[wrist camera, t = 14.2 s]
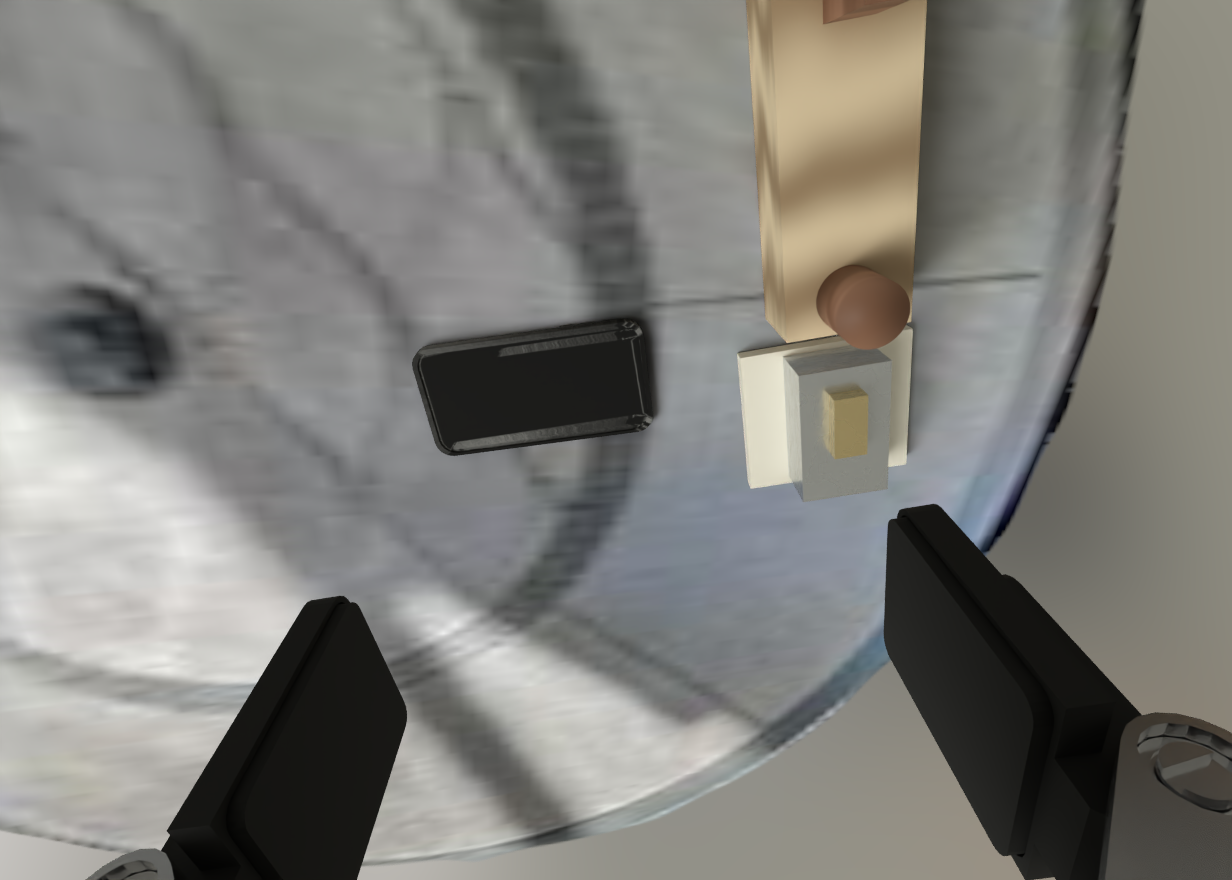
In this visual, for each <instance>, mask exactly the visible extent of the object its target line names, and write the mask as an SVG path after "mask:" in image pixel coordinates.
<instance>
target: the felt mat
mask: <svg viewBox="0 0 1232 880" xmlns="http://www.w3.org/2000/svg"><path fill="white" fill-rule="evenodd" d="M912 337H913V329H912V328H911V327H909V326H908V325H906V326H905V328H904V329H903V330H902V332H901V333H900V334H899V335H898V336H897V337H896V338H895V339H894V340H893V341H891V342H890V343H888V344H887V345H885V346H882V347H880V348H877V349H878V350H879V351H881V352H882V353H883V354H884V355H886V356H887V357H888V358H889V359H891V360H892V376H891V404H890V432H889V460H888V467H892V466H898V465H905V464H906V455H907V435H908V416H909V396H910V377H911V357H912ZM848 345H850V344H848V343H847V342H846V341H845V340H844V339H843V338H841V337H840V336H835V337H829V338H823V339H818V340H812V341H806V342H800V343H794V344H788V345H782V346H776V347H771V348H765V349H759V350H753V351H747V352H741V353H737V358H738V369H739V381H740V393H741V405H742V416H743V428H744V440H745V452H746V463H747V475H748V483H749V485H750V487H751V489H753V488H759V487H766V486H772V485H778V484H785V483H791V482H792V480H791V479H790V477H789V471H788V451H787V431H786V410H785V390H784V370H783V356H789V355H795V354H801V353H807V352H813V351H819V350H825V349H831V348H837V347H842V346H848Z"/></svg>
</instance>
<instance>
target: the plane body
mask: <svg viewBox="0 0 1232 880" xmlns="http://www.w3.org/2000/svg"><path fill="white" fill-rule="evenodd" d="M746 5H747V22H748V38H749V54H750V71H751V87H752V103H753V120H754V136H755V152H756V169H757V185H758V201H759V218H760V234H761V251H762V267H763V283H764V300H765V316H766V320H767V321H768V322H769V323H770V324H771V325H772V326H773V328H774V329H775V330H776V331H777V332H778V333H779V335H780V336H781V337H782V338H783V339H784V340H785V341H786V343H790V342H796V341H802V340H808V339H814V338H820V337H826V336H831V335H837V334H838V335H839V336H840V337H841V338H843V339H844V340H845V341H846V342H847V343H848V344H850V345H851V346H853V347H855V348H859V349H864V350H870V349H876V348H880V347H882V346H885V345H887V344H888V343H890V342H891V341H893V340H894V339H895V338H896V337H897V336H898V335H899V334H900V333H901V332H902V330H903V329H904V328H905V326H906V324H907V323H908V322H911V314H912V294H913V273H914V253H915V233H916V213H917V192H918V172H919V152H920V131H921V111H922V91H923V70H924V50H925V30H926V10H927V0H746Z"/></svg>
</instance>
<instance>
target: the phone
mask: <svg viewBox="0 0 1232 880" xmlns="http://www.w3.org/2000/svg"><path fill="white" fill-rule="evenodd" d="M412 366H413V371H414V374H415V378H416V381H417V384H418V388H419V391H420V394H421V398H422V401H423V404H424V408H425V411H426V414H427V418H428V421H429V424H430V427H431V431H432V434H433V437H434V441H435V444H436V446H437V448H438V449H439V450H440V451H441V452H443V453H445V454H447V455H451V456H457V455H465V454H472V453H480V452H488V451H495V450H503V449H510V448H518V447H526V446H533V445H541V444H548V443H556V442H564V441H571V440H579V439H587V438H594V437H602V436H609V435H617V434H625V433H632V432H639V431H642V430H644V429H646V428H647V427H648V426H649V425H650V424H651V421H652V419H653V412H652V403H651V395H650V386H649V377H648V369H647V360H646V351H645V343H644V336H643V332H642V329H641V327H640V326H639V324H638V323H636V322H635V321H633V320H630V319H618V320H611V321H610V320H607V321H601V322H597V323H592V322H591V323H583V324H577V325H575V326H573V325H567V326H560V328H553V329H545V330H538V331H531V332H524V333H516V334H509V335H502V336H494V337H487V338H480V339H472V340H465V341H458V342H451V343H443V344H436V345H429V346H425V347H423V348H421V349H420V350H419V351H418V352H417V354H416V355H415V357H414V358H413V362H412Z"/></svg>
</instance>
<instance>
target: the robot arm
mask: <svg viewBox="0 0 1232 880" xmlns="http://www.w3.org/2000/svg"><path fill="white" fill-rule="evenodd" d="M884 641H885V646H886V649H887V652H888V655H889V657H890V659H891V661H892V662H893V664H894V666H895V668H896V669H897V671H898V673H899V675H900V677H901V679H902V680H903V682H904V684H905V686H906V688H907V690H908V691H909V693H910V695H911V697H912V699H913V701H914V702H915V704H916V706H917V708H918V710H919V711H920V713H921V715H922V717H923V719H924V720H925V722H926V724H927V726H928V728H929V729H930V731H931V733H932V735H933V737H934V739H935V741H936V742H937V744H938V746H939V748H940V750H941V751H942V753H943V755H944V757H945V759H946V761H947V762H948V764H949V766H950V768H951V770H952V771H953V773H954V775H955V777H956V779H957V781H958V782H959V784H960V786H961V788H962V789H963V791H964V793H965V795H966V797H967V799H968V800H969V802H970V804H971V806H972V808H973V809H974V811H975V813H976V815H977V817H978V818H979V820H980V822H981V824H982V826H983V828H984V829H985V831H986V833H987V835H988V837H989V838H990V840H991V842H992V844H993V846H994V847H995V849H996V850H997V851H998V852H999V853H1000V854H1001V855H1002V856H1008V855H1011V856H1012V858H1013V859H1014V861H1015V863H1016V865H1017V866H1018V868H1019V870H1020V872H1021V874H1022V875H1023V877H1024V879H1025V880H1034V879H1042V878H1050V877H1055V879H1056V880H1232V733H1231V732H1229V731H1227V730H1225V729H1223V728H1220V727H1218V726H1216V725H1213V724H1211V723H1209V722H1206V721H1204V720H1201V719H1197V718H1193V717H1189V716H1185V715H1181V714H1177V713H1156V712H1155V713H1150V714H1146V715H1141V714H1140V713H1139V712H1138V710H1137V709H1136V708H1135V707H1134V706H1133V705H1132V704H1131V703H1130V702H1129V701H1128V700H1127V699H1126V697H1125V696H1124V695H1123V694H1122V693H1121V692H1120V691H1119V690H1118V689H1117V688H1116V687H1115V686H1114V684H1113V683H1112V682H1111V681H1110V680H1109V679H1108V678H1107V677H1106V676H1105V675H1104V674H1103V672H1102V671H1100V669H1099V668H1098V667H1097V666H1096V665H1095V664H1094V663H1093V662H1092V661H1091V659H1090V658H1089V657H1088V656H1087V655H1086V654H1085V653H1084V652H1083V651H1082V650H1081V649H1080V648H1079V646H1078V645H1077V644H1076V643H1075V642H1074V641H1073V640H1072V639H1071V638H1070V637H1069V636H1068V635H1067V634H1066V632H1065V631H1064V630H1063V629H1062V628H1061V627H1060V626H1059V625H1058V624H1057V623H1056V622H1055V621H1054V620H1053V618H1052V617H1051V616H1050V615H1049V614H1048V613H1047V612H1046V611H1045V610H1044V609H1043V608H1042V606H1041V605H1040V604H1039V603H1038V602H1037V601H1036V600H1035V599H1034V598H1033V597H1032V596H1031V595H1030V593H1029V592H1028V591H1027V590H1026V589H1025V588H1024V587H1023V586H1022V585H1021V584H1020V583H1019V582H1018V581H1017V580H1016V579H1014V578H1013V577H1011V576H1008V575H1006V574H1005V575H1001V573H1000V572H999V571H998V570H997V569H996V568H995V567H994V566H993V565H992V563H990V561H989V560H988V559H987V558H986V557H985V556H984V555H983V553H982V552H981V551H980V550H979V549H978V548H977V547H976V546H975V545H974V543H973V542H972V541H971V540H970V539H969V538H968V537H967V536H966V535H965V533H964V532H963V531H962V530H961V529H960V528H959V527H958V526H957V525H956V523H955V522H954V521H953V520H952V519H951V518H950V517H949V516H948V515H947V513H946V512H945V511H944V510H943V509H942V508H941V507H940V506H939V505H936V504H930V505H924V506H918V507H911V508H905V509H901V510H899V513H898V516H897V519H891V520H890V521H889V523H888V534H887V561H886V588H885V615H884ZM406 722H407V710H406V705H405V703H404V700H403V698H402V696H401V694H400V692H399V690H398V688H397V686H396V684H395V681H394V679H393V677H392V675H391V673H390V671H389V669H388V667H387V664H386V662H385V660H384V658H383V656H382V654H381V652H380V650H379V648H378V645H377V643H376V641H375V639H374V637H373V635H372V633H371V631H370V629H369V626H368V624H367V622H366V620H365V618H364V616H363V614H362V612H361V609H360V608H359V606H358V605H357V604H356V603H353V602H352V603H350V602H349V600H348V599H347V598H346V597H344V596H336V597H330V598H323V599H317V600H311V601H309V602H307V603H306V604H305V606H304V607H303V609H302V610H301V612H300V613H299V615H298V617H297V618H296V620H295V622H294V623H293V625H292V627H291V628H290V630H289V631H288V633H287V635H286V636H285V638H284V640H283V641H282V643H281V645H280V646H279V648H278V649H277V651H276V653H275V654H274V656H273V658H272V659H271V661H270V663H269V664H268V666H267V667H266V669H265V671H264V672H263V674H262V676H261V677H260V679H259V681H258V682H257V684H256V686H255V687H254V689H253V690H252V692H251V694H250V695H249V697H248V699H247V700H246V702H245V704H244V705H243V707H242V708H241V710H240V712H239V713H238V715H237V717H236V718H235V720H234V722H233V723H232V725H231V726H230V728H229V730H228V731H227V733H226V735H225V736H224V738H223V740H222V741H221V743H220V744H219V746H218V748H217V749H216V751H215V753H214V754H213V756H212V758H211V759H210V761H209V762H208V764H207V766H206V767H205V769H204V771H203V772H202V774H201V776H200V777H199V779H198V780H197V782H196V784H195V785H194V787H193V789H192V790H191V792H190V794H189V795H188V797H187V799H186V800H185V802H184V803H183V805H182V807H181V808H180V810H179V812H178V813H177V815H176V817H175V818H174V820H173V821H172V823H171V825H170V826H169V828H168V830H167V832H168V833H169V834H170V837H169V838H168V840H167V842H166V843H165V845H164V847H163V848H162V850H161V851H160V850H157V849H139V850H136V851H134V852H131V853H128V854H125V855H122V856H120V857H119V858H117V859H115V860H113V861H112V862H110V863H108V864H107V865H104V866H103V867H102V868H100V869H99V870H98V871H96V872H95V873H94V874H93V875H91V876H90V877H89V878H87V879H86V880H357V877H358V874H359V871H360V868H361V865H362V862H363V859H364V855H365V852H366V849H367V846H368V843H369V840H370V837H371V833H372V830H373V827H374V824H375V821H376V818H377V815H378V812H379V808H380V805H381V802H382V799H383V796H384V793H385V790H386V786H387V783H388V780H389V777H390V774H391V771H392V768H393V765H394V761H395V758H396V755H397V752H398V749H399V746H400V743H401V739H402V736H403V733H404V730H405V727H406Z"/></svg>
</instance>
